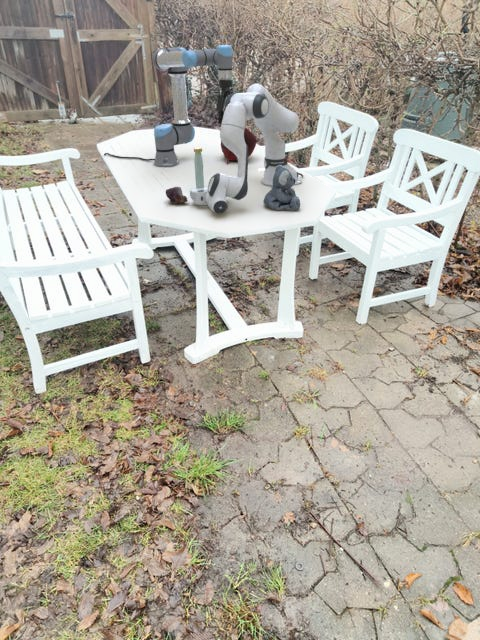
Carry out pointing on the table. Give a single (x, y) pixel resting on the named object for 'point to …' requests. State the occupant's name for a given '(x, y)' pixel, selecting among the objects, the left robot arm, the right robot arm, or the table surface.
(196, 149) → the cap
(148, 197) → the table surface
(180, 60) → the left robot arm
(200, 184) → the bottle
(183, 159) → the table surface
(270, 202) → the koala plush
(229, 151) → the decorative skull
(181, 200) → the rock
